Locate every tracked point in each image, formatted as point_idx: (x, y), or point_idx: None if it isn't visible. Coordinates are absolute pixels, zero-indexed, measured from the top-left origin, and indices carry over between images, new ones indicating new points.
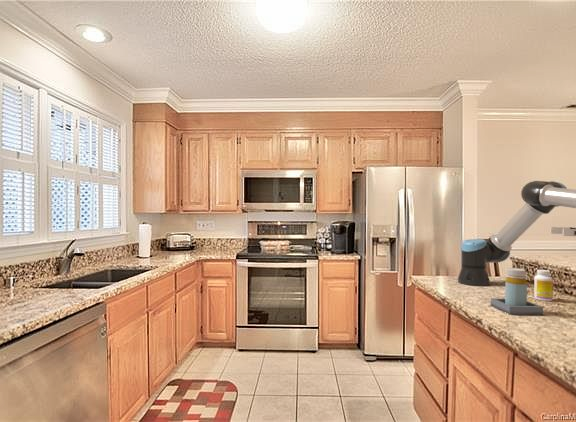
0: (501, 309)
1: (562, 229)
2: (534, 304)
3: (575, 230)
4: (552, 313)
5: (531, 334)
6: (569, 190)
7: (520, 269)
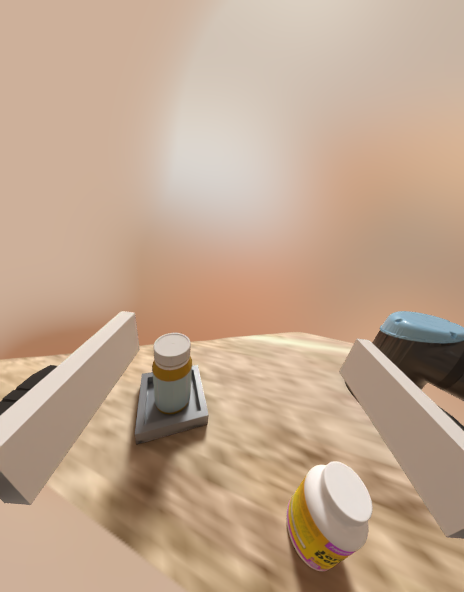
0: None
1: (405, 416)
2: (157, 424)
3: (65, 371)
4: (149, 479)
5: None
6: None
7: (177, 352)
